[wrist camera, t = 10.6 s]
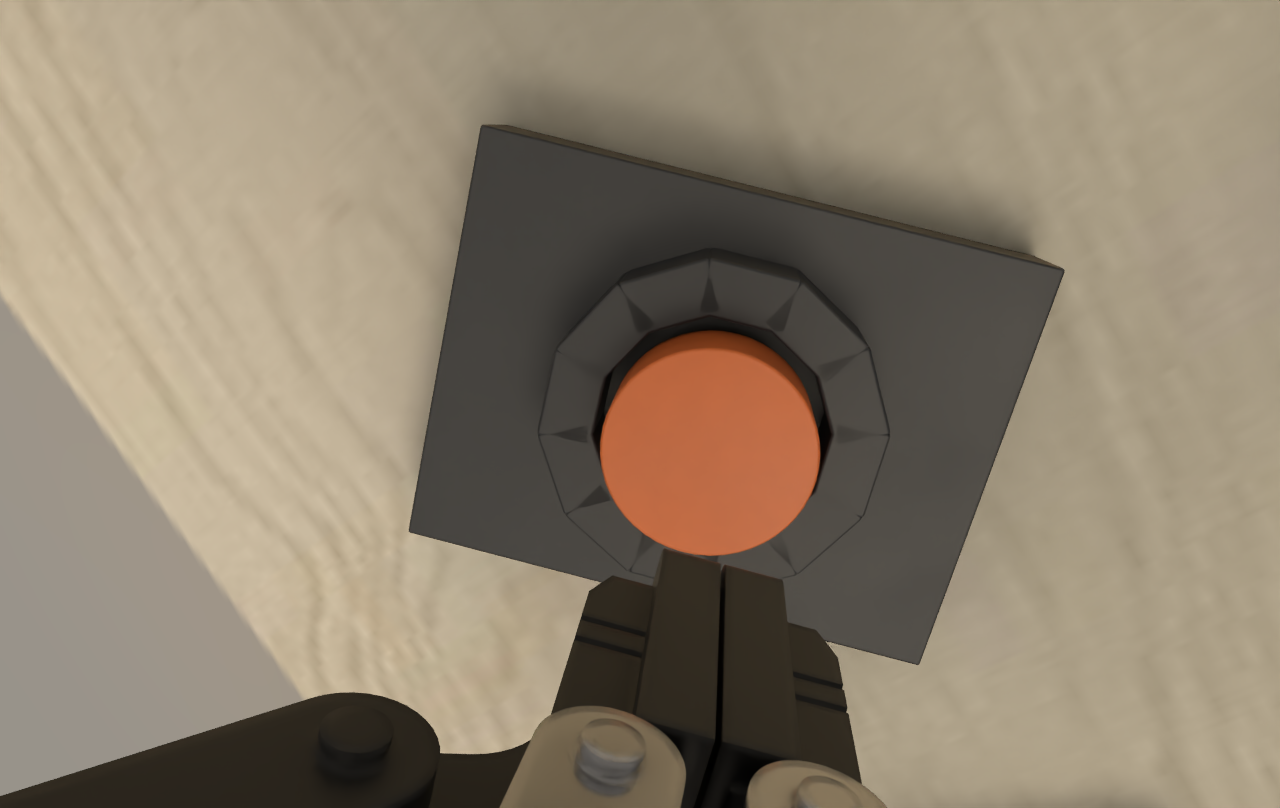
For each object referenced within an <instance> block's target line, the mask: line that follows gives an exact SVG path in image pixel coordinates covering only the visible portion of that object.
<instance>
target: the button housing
mask: <svg viewBox="0 0 1280 808" xmlns="http://www.w3.org/2000/svg"><path fill="white" fill-rule="evenodd" d="M1063 274H1064V269H1063V268H1060V267H1058V266H1056V265H1053V264H1051V263H1049V262H1047V261H1044V260H1042V259H1040V258H1037V257H1035V256H1032V255H1028V254H1024V253H1020V252H1016V251H1012V250H1008V249H1004V248H1000V247H996V246H992V245H988V244H984V243H979V242H975V241H971V240H967V239H963V238H959V237H955V236H951V235H947V234H943V233H939V232H935V231H931V230H927V229H923V228H919V227H915V226H911V225H907V224H903V223H899V222H895V221H891V220H887V219H883V218H879V217H875V216H871V215H867V214H863V213H859V212H855V211H851V210H847V209H843V208H839V207H835V206H831V205H827V204H822V203H818V202H814V201H810V200H806V199H802V198H798V197H794V196H790V195H786V194H782V193H778V192H774V191H770V190H766V189H762V188H758V187H754V186H750V185H746V184H742V183H738V182H734V181H730V180H726V179H722V178H718V177H714V176H710V175H706V174H702V173H698V172H694V171H690V170H686V169H682V168H678V167H674V166H670V165H665V164H661V163H657V162H653V161H649V160H645V159H641V158H637V157H633V156H629V155H625V154H621V153H617V152H613V151H609V150H605V149H601V148H597V147H593V146H589V145H585V144H581V143H577V142H573V141H569V140H565V139H561V138H557V137H553V136H549V135H545V134H541V133H537V132H533V131H529V130H525V129H521V128H517V127H513V126H508V125H482V126H481V128H480V133H479V139H478V145H477V150H476V156H475V161H474V167H473V173H472V178H471V184H470V189H469V195H468V201H467V206H466V212H465V218H464V223H463V229H462V234H461V240H460V246H459V251H458V257H457V262H456V268H455V274H454V279H453V285H452V290H451V296H450V302H449V307H448V313H447V318H446V324H445V330H444V335H443V341H442V346H441V352H440V358H439V363H438V369H437V374H436V380H435V386H434V391H433V397H432V402H431V408H430V414H429V419H428V425H427V430H426V436H425V442H424V447H423V453H422V459H421V464H420V470H419V475H418V481H417V487H416V492H415V498H414V503H413V509H412V515H411V520H410V526H409V532H410V533H414V534H418V535H422V536H426V537H429V538H433V539H437V540H441V541H445V542H449V543H452V544H456V545H460V546H464V547H468V548H472V549H475V550H479V551H483V552H487V553H491V554H495V555H498V556H502V557H506V558H510V559H514V560H518V561H521V562H525V563H529V564H533V565H537V566H541V567H544V568H548V569H552V570H556V571H560V572H564V573H567V574H571V575H575V576H579V577H583V578H587V579H590V580H594V581H598V582H603V581H605V580H606V579H608V578H609V577H611V576H612V575H613V576H617V577H620V578H624V579H628V580H632V581H635V582H639V583H643V584H646V585H650V586H652V585H653V581H654V577H655V574H656V570H657V567H658V563H659V560H660V557H661V553H662V551H663V548H665V549H668V550H672V551H676V552H680V553H683V554H687V555H691V556H695V557H698V558H702V559H706V560H709V561H713V562H717V563H720V564H721V570H722V568H723V566H724V565H729V566H733V567H736V568H740V569H744V570H748V571H751V572H755V573H759V574H763V575H766V576H770V577H774V578H777V579H781V580H783V584H784V593H785V603H786V612H787V622H789V623H793V624H796V625H800V626H804V627H807V628H811V629H815V630H817V631H818V633H819V634H820V635H821V637H822V638H823V639H824V640H825V641H828V642H832V643H836V644H839V645H843V646H847V647H851V648H855V649H859V650H862V651H866V652H870V653H874V654H878V655H882V656H885V657H889V658H893V659H897V660H901V661H905V662H908V663H912V664H916V665H919V664H920V661H921V658H922V656H923V653H924V650H925V648H926V645H927V642H928V639H929V637H930V634H931V631H932V629H933V626H934V623H935V621H936V618H937V615H938V612H939V610H940V607H941V604H942V602H943V599H944V596H945V593H946V591H947V588H948V585H949V583H950V580H951V577H952V575H953V572H954V569H955V566H956V564H957V561H958V558H959V556H960V553H961V550H962V548H963V545H964V542H965V539H966V537H967V534H968V531H969V529H970V526H971V523H972V520H973V518H974V515H975V512H976V510H977V507H978V504H979V502H980V499H981V496H982V493H983V491H984V488H985V485H986V483H987V480H988V477H989V475H990V472H991V469H992V466H993V464H994V461H995V458H996V456H997V453H998V450H999V447H1000V445H1001V442H1002V439H1003V437H1004V434H1005V431H1006V429H1007V426H1008V423H1009V420H1010V418H1011V415H1012V412H1013V410H1014V407H1015V404H1016V402H1017V399H1018V396H1019V393H1020V391H1021V388H1022V385H1023V383H1024V380H1025V377H1026V375H1027V372H1028V369H1029V366H1030V364H1031V361H1032V358H1033V356H1034V353H1035V350H1036V347H1037V345H1038V342H1039V339H1040V337H1041V334H1042V331H1043V329H1044V326H1045V323H1046V320H1047V318H1048V315H1049V312H1050V310H1051V307H1052V304H1053V302H1054V299H1055V296H1056V293H1057V291H1058V288H1059V285H1060V283H1061V280H1062V277H1063ZM707 330H714V331H726V332H732V333H737V334H740V335H743V336H746V337H750V338H752V339H754V340H756V341H758V342H760V343H763V344H764V345H766V346H767V347H769V348H770V349H772V350H774V351H775V352H776V353H777V354H778V355H780V356H781V357H782V358H783V359H784V360H785V361H786V362H787V363H788V364H789V365H790V366H791V367H792V369H793V370H794V371H795V373H796V374H797V375H798V377H799V378H800V380H801V382H802V384H803V386H804V388H805V390H806V392H807V394H808V397H809V400H810V403H811V406H812V410H813V414H814V418H815V421H816V425H817V429H818V435H819V440H820V464H819V471H818V476H817V480H816V483H815V486H814V488H813V491H812V493H811V496H810V497H809V499H808V501H807V503H806V505H805V506H804V508H803V509H802V511H801V512H800V513H799V515H798V516H797V517H796V518H795V519H794V520H793V521H792V522H791V523H790V524H789V525H788V526H787V528H785V529H784V530H783V531H781V532H780V533H779V534H778V535H776V536H775V537H773V538H772V539H770V540H768V541H766V542H765V543H763V544H761V545H758V546H756V547H754V548H751V549H748V550H745V551H742V552H738V553H733V554H727V555H714V556H707V555H695V554H690V553H685V552H681V551H678V550H675V549H672V548H669V547H667V546H664V545H662V544H660V543H658V542H656V541H654V540H653V539H651V538H650V537H648V536H646V535H645V534H644V533H642V532H641V531H640V530H639V529H637V528H636V527H635V526H634V525H633V524H632V523H631V522H630V521H629V520H628V519H627V518H626V517H625V516H624V515H623V513H622V512H621V511H620V509H619V508H618V507H617V505H616V503H615V502H614V500H613V498H612V496H611V495H610V493H609V490H608V488H607V485H606V483H605V480H604V476H603V472H602V468H601V459H600V440H601V433H602V427H603V424H604V421H605V418H606V415H607V412H608V410H609V408H610V406H611V403H612V401H613V399H614V397H615V395H616V393H617V390H618V388H619V386H620V384H621V382H622V380H623V379H624V377H625V376H626V374H627V372H628V371H629V370H630V369H631V367H632V366H633V365H634V364H635V363H636V362H637V360H639V359H640V358H641V357H642V356H643V355H644V354H645V353H646V352H648V351H649V350H651V349H652V348H654V347H655V346H657V345H658V344H660V343H662V342H664V341H666V340H668V339H670V338H673V337H676V336H679V335H682V334H686V333H690V332H695V331H707Z"/></svg>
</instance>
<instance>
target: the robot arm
mask: <svg viewBox="0 0 1280 808" xmlns="http://www.w3.org/2000/svg"><path fill="white" fill-rule="evenodd" d="M842 686H843V683H842V677H841V672H840V667H839V662H838V657H837V656H836V655H835V654H834V652H833V651H832V650H831V648H830V647H829V646H828V644H827V643H826V642H825V640H824V639H823V638H822V637H821V635H820V634H819V633H818V631H817V630H815V629H811V628H807V627H804V626H800V625H796V624H793V623H789V622H787V612H786V603H785V593H784V584H783V580H781V579H777V578H774V577H770V576H766V575H763V574H759V573H755V572H751V571H748V570H744V569H740V568H736V567H733V566H729V565H724V566H723V568H722V570H721V564H720V563H717V562H713V561H709V560H706V559H702V558H698V557H695V556H691V555H687V554H683V553H680V552H676V551H672V550H668V549H665V548H663V551H662V553H661V557H660V560H659V563H658V567H657V570H656V574H655V577H654V581H653V585H652V586H650V585H646V584H643V583H639V582H635V581H632V580H628V579H624V578H620V577H617V576H613V575H612V576H611V577H609V578H608V579H606V580H605V581H603V582H602V583H600V584H599V585H598V586H596V587H595V588H593V589H592V590H590V591H589V594H588V597H587V600H586V603H585V607H584V610H583V613H582V617H581V620H580V623H579V626H578V629H577V632H576V636H575V639H574V642H573V645H572V648H571V652H570V655H569V658H568V661H567V665H566V668H565V671H564V674H563V677H562V681H561V684H560V687H559V690H558V694H557V697H556V700H555V703H554V706H553V710H552V713H551V715H550V716H548V717H547V718H545V719H544V720H543V721H542V722H541V723H540V724H539V726H538V727H537V729H536V730H535V732H534V734H533V736H532V738H531V740H530V741H528V742H526V743H525V744H523V745H520V746H518V747H515V748H513V749H509V750H505V751H501V752H496V753H489V754H443V753H440V745H439V741H438V738H437V736H436V734H435V732H434V730H433V728H432V727H431V726H430V724H429V723H428V722H427V721H426V720H425V719H424V718H423V717H422V716H421V715H420V714H418V713H417V712H416V711H414V710H412V709H411V708H409V707H408V706H406V705H404V704H402V703H399V702H397V701H395V700H392V699H389V698H385V697H382V696H377V695H372V694H366V693H354V692H353V693H334V694H327V695H322V696H318V697H314V698H310V699H307V700H304V701H301V702H298V703H294V704H291V705H288V706H285V707H282V708H279V709H276V710H272V711H269V712H266V713H263V714H259V715H256V716H253V717H250V718H247V719H244V720H240V721H237V722H234V723H231V724H228V725H225V726H221V727H219V728H215V729H212V730H209V731H206V732H203V733H199V734H196V735H193V736H190V737H187V738H184V739H180V740H177V741H174V742H171V743H168V744H164V745H161V746H158V747H155V748H152V749H149V750H145V751H142V752H139V753H136V754H133V755H130V756H126V757H123V758H120V759H117V760H114V761H111V762H108V763H104V764H101V765H98V766H95V767H92V768H88V769H85V770H82V771H79V772H76V773H73V774H69V775H66V776H63V777H60V778H57V779H54V780H50V781H47V782H44V783H41V784H38V785H35V786H31V787H28V788H25V789H22V790H19V791H16V792H12V793H9V794H6V795H3V796H0V808H887V807H886V806H885V804H884V803H883V802H882V801H881V800H880V799H879V798H878V797H877V796H876V795H875V794H874V793H872V792H871V791H870V790H869V789H867V788H866V787H865V786H863V785H862V782H861V777H860V772H859V767H858V761H857V756H856V751H855V746H854V740H853V735H852V730H851V725H850V719H849V714H848V713H846V711H847V704H846V698H845V693H844V690H842Z"/></svg>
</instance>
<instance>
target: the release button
mask: <svg viewBox="0 0 1280 808" xmlns="http://www.w3.org/2000/svg"><path fill="white" fill-rule="evenodd" d="M600 459H601V468H602V472H603V476H604V480H605V483H606V485H607V488H608V490H609V493H610V495H611V496H612V498H613V500H614V502H615V503H616V505H617V507H618V508H619V509H620V511H621V512H622V513H623V515H624V516H625V517H626V518H627V519H628V520H629V521H630V522H631V523H632V524H633V525H634V526H635V527H636V528H637V529H639V530H640V531H641V532H642V533H644V534H645V535H646V536H648V537H650V538H651V539H653V540H654V541H656V542H658V543H660V544H662V545H664V546H667V547H669V548H672V549H675V550H678V551H681V552H685V553H690V554H695V555H707V556H714V555H727V554H733V553H738V552H742V551H745V550H748V549H751V548H754V547H756V546H758V545H761V544H763V543H765V542H766V541H768V540H770V539H772V538H773V537H775V536H776V535H778V534H779V533H780V532H781V531H783V530H784V529H785V528H787V526H788V525H789V524H790V523H791V522H792V521H793V520H794V519H795V518H796V517H797V516H798V515H799V513H800V512H801V511H802V509H803V508H804V506H805V505H806V503H807V501H808V499H809V497H810V496H811V493H812V491H813V488H814V486H815V483H816V480H817V476H818V471H819V464H820V440H819V435H818V429H817V425H816V421H815V418H814V414H813V410H812V406H811V403H810V400H809V397H808V394H807V392H806V390H805V388H804V386H803V384H802V382H801V380H800V378H799V377H798V375H797V374H796V373H795V371H794V370H793V369H792V367H791V366H790V365H789V364H788V363H787V362H786V361H785V360H784V359H783V358H782V357H781V356H780V355H778V354H777V353H776V352H775V351H774V350H772V349H770V348H769V347H767V346H766V345H764V344H763V343H760V342H758V341H756V340H754V339H752V338H750V337H746V336H743V335H740V334H737V333H732V332H726V331H714V330H707V331H695V332H690V333H686V334H682V335H679V336H676V337H673V338H670V339H668V340H666V341H664V342H662V343H660V344H658V345H657V346H655V347H654V348H652V349H651V350H649V351H648V352H646V353H645V354H644V355H643V356H642V357H641V358H640V359H639V360H637V362H636V363H635V364H634V365H633V366H632V367H631V369H630V370H629V371H628V372H627V374H626V376H625V377H624V379H623V380H622V382H621V384H620V386H619V388H618V390H617V393H616V395H615V397H614V399H613V401H612V403H611V406H610V408H609V410H608V412H607V415H606V418H605V421H604V424H603V427H602V433H601V440H600Z"/></svg>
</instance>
